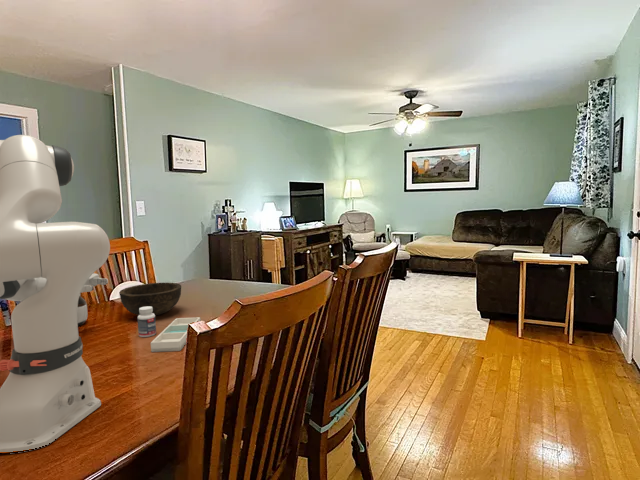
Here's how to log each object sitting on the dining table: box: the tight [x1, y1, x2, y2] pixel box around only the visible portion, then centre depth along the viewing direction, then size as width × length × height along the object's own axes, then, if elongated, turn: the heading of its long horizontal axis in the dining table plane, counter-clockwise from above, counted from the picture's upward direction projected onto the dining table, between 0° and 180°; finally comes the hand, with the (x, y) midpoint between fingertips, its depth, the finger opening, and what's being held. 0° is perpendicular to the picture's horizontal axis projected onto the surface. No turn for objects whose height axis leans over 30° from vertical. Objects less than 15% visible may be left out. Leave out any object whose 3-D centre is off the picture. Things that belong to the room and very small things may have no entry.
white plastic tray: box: [150, 316, 201, 353], centre depth 127 cm, size 23×8×3 cm, turn 2°
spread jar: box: [77, 295, 89, 327], centre depth 141 cm, size 12×11×12 cm
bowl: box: [119, 282, 182, 316], centre depth 154 cm, size 22×22×10 cm
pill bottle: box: [137, 306, 157, 338], centre depth 130 cm, size 5×5×9 cm
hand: (99, 284), depth 129 cm, fingers open, 8 cm apart
